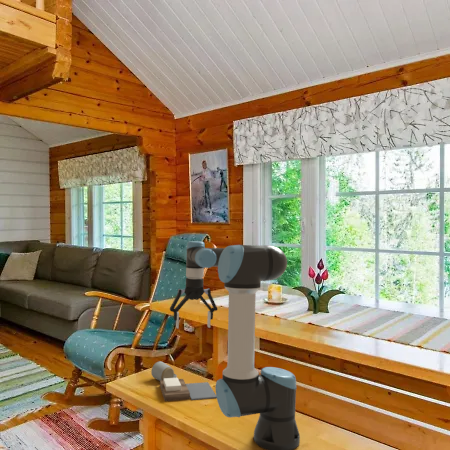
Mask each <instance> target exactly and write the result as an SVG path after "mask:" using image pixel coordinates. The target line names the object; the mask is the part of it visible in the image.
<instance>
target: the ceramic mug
mask: <svg viewBox="0 0 450 450" xmlns="http://www.w3.org/2000/svg"><path fill="white" fill-rule="evenodd" d="M150 372H151V376H152V377H153V379H156V380H157V381H159V382H160V380H163V379H164V378H178V377H177V376H178V374H175V370H174V369H173V367H171V366H170V365H168V364H167V363H165V362H163V361H157V362H155V363H154V364H153V366H152V368H151V371H150Z"/></svg>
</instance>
